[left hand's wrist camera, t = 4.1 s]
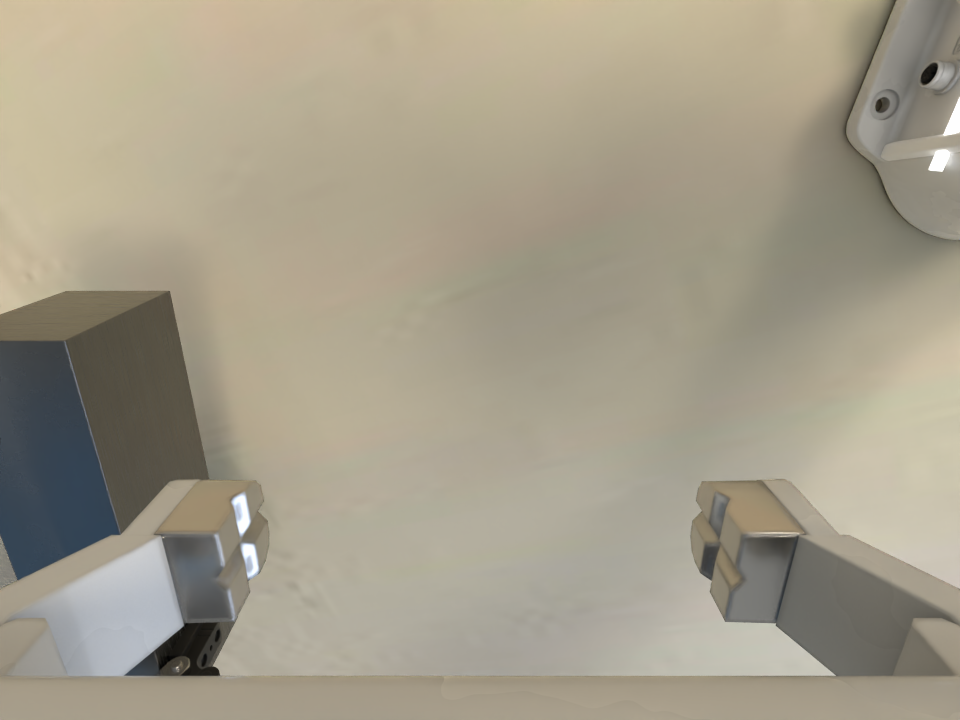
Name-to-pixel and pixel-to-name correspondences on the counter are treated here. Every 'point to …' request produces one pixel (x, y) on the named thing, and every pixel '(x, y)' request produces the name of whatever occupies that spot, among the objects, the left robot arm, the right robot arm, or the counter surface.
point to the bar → (91, 425)
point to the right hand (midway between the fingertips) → (158, 616)
